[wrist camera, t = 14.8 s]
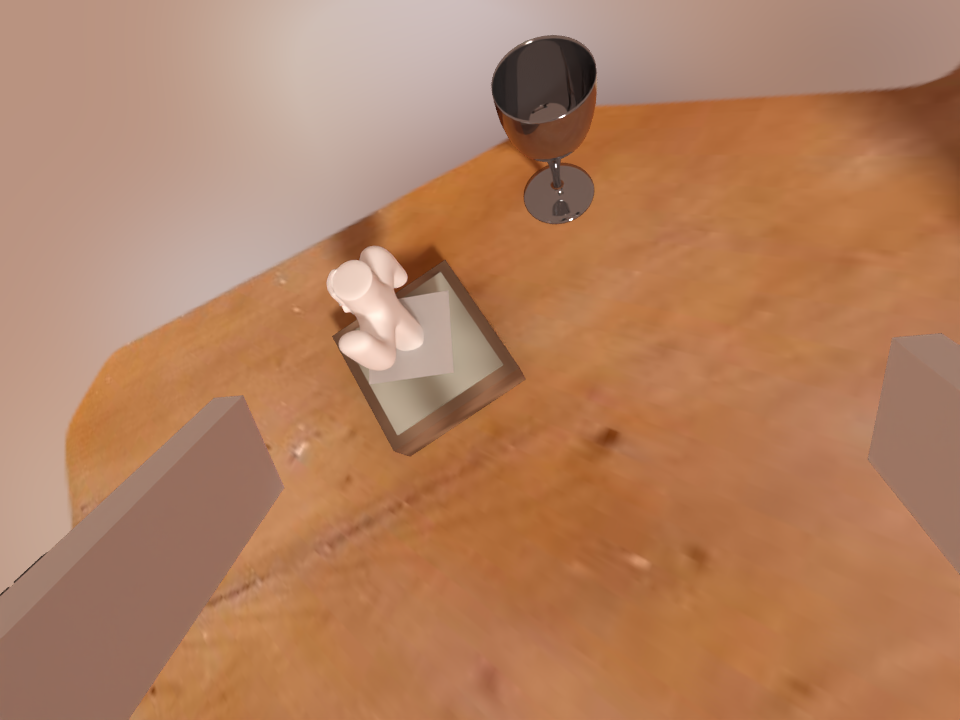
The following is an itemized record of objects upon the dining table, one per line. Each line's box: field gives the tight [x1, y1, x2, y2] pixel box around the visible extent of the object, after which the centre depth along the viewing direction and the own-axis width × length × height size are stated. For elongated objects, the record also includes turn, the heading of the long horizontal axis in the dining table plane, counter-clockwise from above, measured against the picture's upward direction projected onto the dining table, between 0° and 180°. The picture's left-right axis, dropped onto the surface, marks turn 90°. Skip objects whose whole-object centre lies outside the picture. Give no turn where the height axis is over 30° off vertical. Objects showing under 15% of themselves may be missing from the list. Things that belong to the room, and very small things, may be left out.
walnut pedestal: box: [332, 260, 525, 456], centre depth 49 cm, size 13×13×4 cm
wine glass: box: [491, 35, 597, 224], centre depth 46 cm, size 8×8×15 cm
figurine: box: [327, 246, 454, 385], centre depth 40 cm, size 7×9×15 cm
